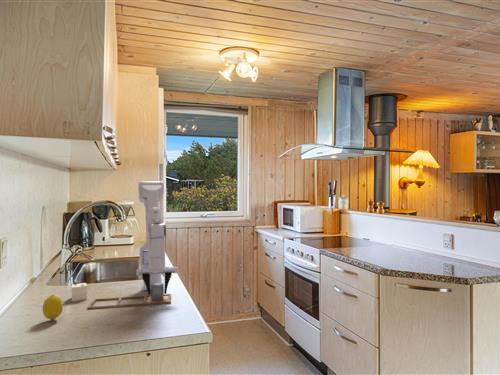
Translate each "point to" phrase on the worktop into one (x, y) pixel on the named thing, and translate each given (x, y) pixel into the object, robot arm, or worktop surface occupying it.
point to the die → (79, 291)
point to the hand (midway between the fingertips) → (157, 293)
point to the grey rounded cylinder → (157, 292)
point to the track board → (148, 302)
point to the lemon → (52, 307)
